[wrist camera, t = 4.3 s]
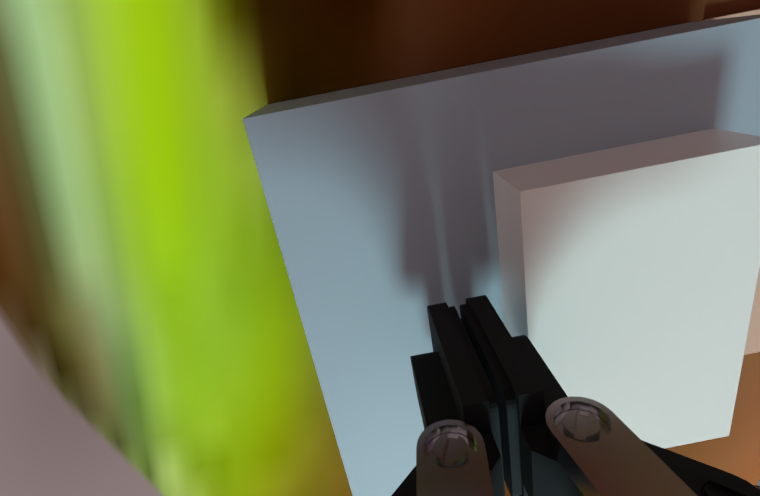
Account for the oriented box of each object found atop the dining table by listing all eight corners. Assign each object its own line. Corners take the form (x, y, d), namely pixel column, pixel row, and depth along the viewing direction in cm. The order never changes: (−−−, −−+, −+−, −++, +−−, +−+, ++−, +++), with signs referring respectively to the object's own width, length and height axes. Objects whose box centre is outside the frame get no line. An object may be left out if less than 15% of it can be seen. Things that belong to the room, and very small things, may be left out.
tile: (492, 171, 12) (520, 191, 10) (714, 127, 12) (782, 140, 10) (512, 424, 15) (535, 473, 13) (682, 390, 15) (728, 435, 14)
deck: (267, 104, 14) (242, 118, 11) (688, 22, 14) (806, 9, 11) (353, 424, 20) (355, 506, 16) (658, 364, 20) (729, 433, 16)
